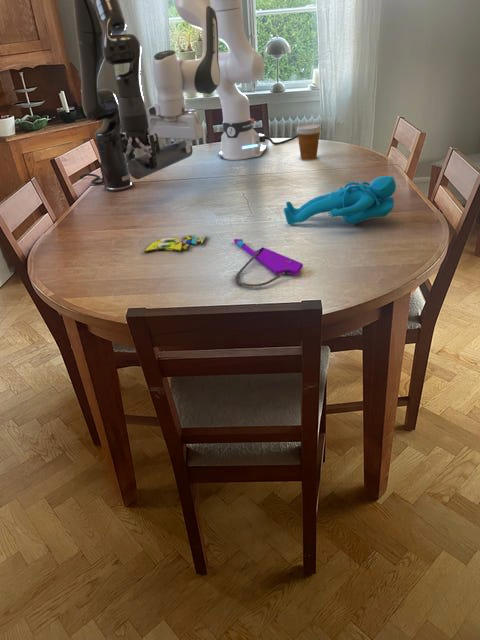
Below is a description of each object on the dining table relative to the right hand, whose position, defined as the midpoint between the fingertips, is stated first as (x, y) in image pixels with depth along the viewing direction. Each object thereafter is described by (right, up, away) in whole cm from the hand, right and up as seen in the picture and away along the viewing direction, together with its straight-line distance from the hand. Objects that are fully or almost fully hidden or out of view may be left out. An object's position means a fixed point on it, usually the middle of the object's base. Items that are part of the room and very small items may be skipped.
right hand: (178, 151), depth 164 cm
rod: (-5, -7, -5) cm, 10 cm away
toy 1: (+4, -37, -33) cm, 50 cm away
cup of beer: (+49, +8, +29) cm, 57 cm away
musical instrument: (+24, -45, -48) cm, 70 cm away
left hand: (-9, -9, -12) cm, 18 cm away
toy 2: (+48, -30, -29) cm, 64 cm away
